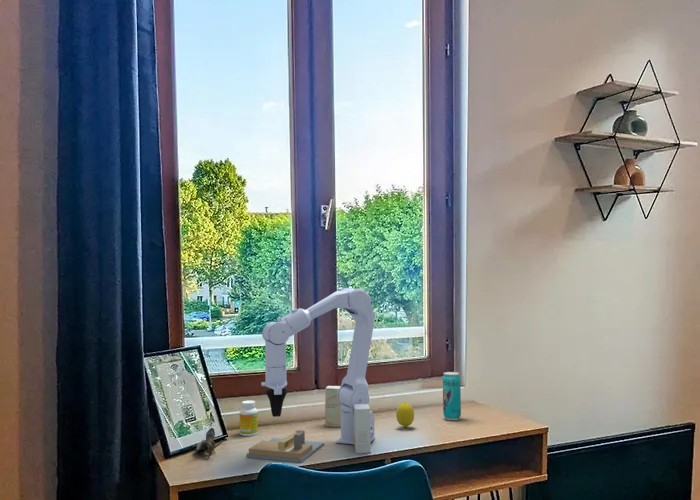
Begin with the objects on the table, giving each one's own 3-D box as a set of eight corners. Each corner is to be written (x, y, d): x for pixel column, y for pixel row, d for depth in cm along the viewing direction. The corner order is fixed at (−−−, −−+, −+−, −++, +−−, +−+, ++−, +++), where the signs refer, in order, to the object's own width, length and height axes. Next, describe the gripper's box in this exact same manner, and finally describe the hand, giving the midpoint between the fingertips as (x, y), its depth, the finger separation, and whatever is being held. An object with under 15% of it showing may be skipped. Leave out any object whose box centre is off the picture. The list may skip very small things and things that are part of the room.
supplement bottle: (254, 436, 184) (253, 404, 184) (237, 435, 185) (236, 403, 185) (260, 431, 189) (259, 400, 189) (243, 431, 190) (243, 399, 190)
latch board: (324, 445, 174) (324, 423, 174) (301, 462, 159) (301, 439, 159) (273, 440, 179) (273, 419, 179) (246, 457, 164) (246, 434, 164)
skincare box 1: (324, 426, 194) (324, 388, 194) (327, 423, 198) (327, 385, 199) (344, 427, 193) (344, 388, 193) (346, 423, 197) (346, 385, 198)
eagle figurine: (229, 451, 166) (220, 437, 173) (216, 432, 163) (207, 419, 171) (205, 469, 163) (197, 454, 171) (191, 450, 161) (184, 436, 168)
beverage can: (439, 418, 202) (438, 372, 203) (451, 416, 206) (451, 371, 206) (452, 422, 198) (451, 375, 198) (464, 419, 201) (463, 373, 201)
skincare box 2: (354, 446, 172) (353, 403, 172) (369, 446, 172) (368, 403, 173) (355, 453, 166) (354, 408, 166) (371, 453, 166) (370, 408, 167)
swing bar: (298, 442, 173) (297, 429, 173) (306, 443, 172) (306, 430, 172) (277, 455, 162) (276, 441, 162) (285, 456, 161) (285, 442, 161)
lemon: (394, 429, 190) (393, 403, 190) (399, 424, 195) (399, 399, 195) (411, 430, 188) (411, 404, 188) (416, 426, 193) (416, 400, 193)
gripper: (259, 362, 175) (260, 410, 174) (262, 371, 160) (263, 423, 160) (284, 361, 176) (285, 409, 176) (289, 369, 162) (290, 421, 161)
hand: (276, 416), depth 168 cm, fingers closed
